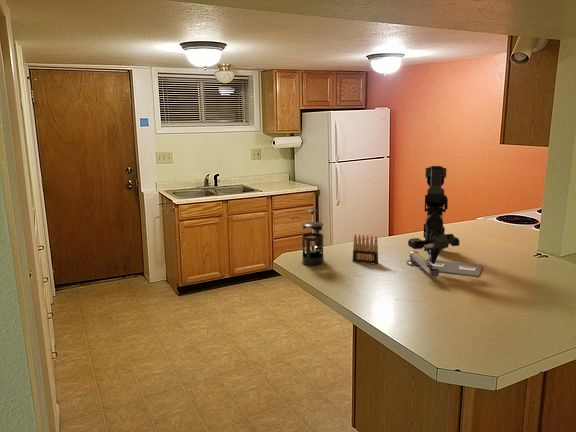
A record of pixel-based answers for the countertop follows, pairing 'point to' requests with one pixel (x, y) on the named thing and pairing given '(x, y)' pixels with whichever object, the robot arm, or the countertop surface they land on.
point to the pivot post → (412, 262)
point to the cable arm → (424, 263)
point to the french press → (316, 252)
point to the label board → (456, 268)
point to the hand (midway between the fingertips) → (432, 263)
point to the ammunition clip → (365, 250)
